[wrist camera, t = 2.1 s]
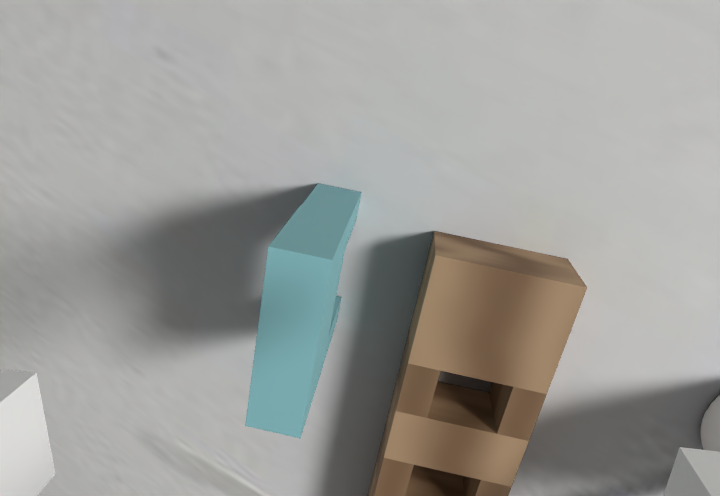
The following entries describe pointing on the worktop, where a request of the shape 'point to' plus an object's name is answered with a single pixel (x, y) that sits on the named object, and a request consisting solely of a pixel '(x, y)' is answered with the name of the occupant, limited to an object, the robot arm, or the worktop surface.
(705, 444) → the milk bottle
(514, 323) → the wooden slotted block
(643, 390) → the worktop surface
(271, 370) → the clip
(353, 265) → the worktop surface
